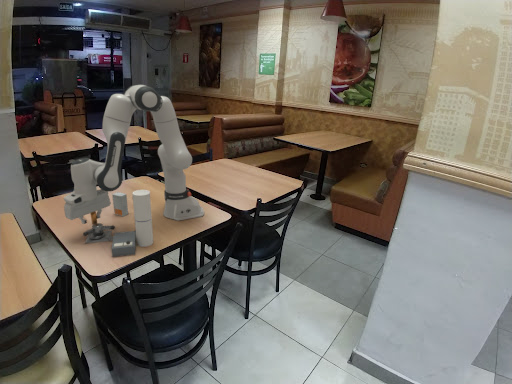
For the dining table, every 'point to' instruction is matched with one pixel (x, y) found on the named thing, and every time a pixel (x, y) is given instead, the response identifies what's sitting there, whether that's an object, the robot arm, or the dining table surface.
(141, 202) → the cylindrical container
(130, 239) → the stand
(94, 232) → the capstan
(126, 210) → the skincare box
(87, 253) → the dining table surface
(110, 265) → the dining table surface
